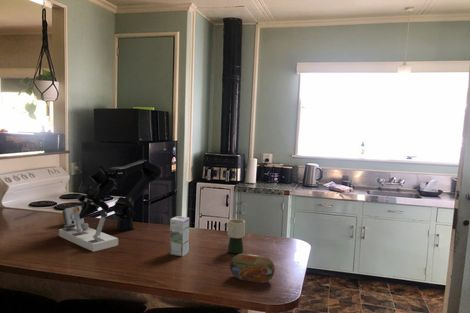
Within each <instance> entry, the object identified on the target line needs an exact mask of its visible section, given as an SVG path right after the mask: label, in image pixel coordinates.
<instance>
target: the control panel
mask: <svg viewBox="0 0 470 313" xmlns="http://www.w3.org/2000/svg"><path fill="white" fill-rule="evenodd" d="M76 230H77V225H76V226H75V227H74V228H69V229H67V228H64V227H63V228H60V229H58V236H59V237H61V238H62V239H65V240H67V241H69V242H71V243H73V244H76V245H77V246H80V247H82V248H84V249H87V250H88V251H91V252H97V251H101V250H105V249H110V248H114V247H117V246H119V238H118V237H116V236H113V235H110V234H107V233H105V232H102V231H101V233H100V236H99V237H100V240H96V239H93V236H94V235H95V233H96V230H97V229H94V228H91V227H89V226H88V229H84V230H83V233H79V232H77V231H76Z"/></svg>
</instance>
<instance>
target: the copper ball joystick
mask: <svg viewBox="0 0 470 313" xmlns="http://www.w3.org/2000/svg"><path fill="white" fill-rule="evenodd" d="M73 207H74V208H73V212H74V214H75V220H76V226H77V230H76V231H77V232H79V233H83V230H82V228H81V222H80V217H79V208H78V207H77V206H73Z"/></svg>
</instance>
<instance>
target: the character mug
mask: <svg viewBox="0 0 470 313" xmlns="http://www.w3.org/2000/svg"><path fill="white" fill-rule="evenodd" d="M245 233H246V221H245V220H244V219H240V218H239V219H238V218H231V219H227V236H228V237H229V241H228V247H227V248H228V249H227V252H228V253H233V254H241V253H243V252H244V244H243V239H242V238H244V237H245V236H246V234H245Z"/></svg>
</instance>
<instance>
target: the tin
mask: <svg viewBox="0 0 470 313" xmlns="http://www.w3.org/2000/svg"><path fill="white" fill-rule="evenodd" d="M229 269H230V272H231V274H232V275H233V276H234V277H235V279H238V280H241V281H246V282H253V283H260V284H266V283H268V282H270V281H271V280H272V278H273V276H274V275H275V272H276V271H275V270H276V269H275V264H274V262H273V261H272V260H271V259H270V258H269V257H267V256H266V255H265V256H264V255H258V254H250V253H245V252H244V253H243V252H242V253H237V254H236V255H234V256H233V257H232V258H231V260H230V262H229Z"/></svg>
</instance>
